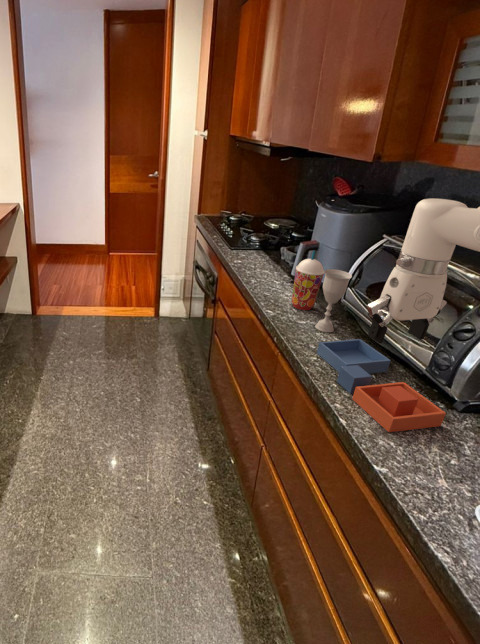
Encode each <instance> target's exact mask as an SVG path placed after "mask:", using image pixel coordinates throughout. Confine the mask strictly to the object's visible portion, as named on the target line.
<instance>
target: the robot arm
mask: <svg viewBox="0 0 480 644" xmlns="http://www.w3.org/2000/svg"><path fill="white" fill-rule="evenodd" d="M456 245H457V246H459V247H463V248H466V249H469V250H472V251H476V252H480V206H478V207H477V208H476V207H475V208H474V207H468V206H467V204H466V203H463V202H461V201H458V200H453V199H448V198H447V199H446V198H431V197H430V198H424V199H422V200H420V201H418V202H417V203H416V205H415V208H414V210H413V213H412V216H411V219H410V222H409V225H408V228H407V231H406V235H405V238H404V240H403V243H402V247H401V249H400V252H399V255H398V258H397V259H396V261H395V263H396V265H395V266H394V267H393V268H392V270H391V272H390V274H389V276H388V278H387V280H386V282H385V284H384V286H383V289H382V291H381V294H380V297H379V298H378V299H376V300H374V301H372V302H370V303H368V304H367V305H366V310H367V316H368V317H369V319H370V321H371V324H370V327H369V331H368V334H367V336H368V337H369V338H370V339H372V340H374V341H375V342H376V343H377V344H383V343H384V340H385V336H386V334H387V331H388V326H386V325H388V324H390V322H391V321H392V320H395V321H411V323H410V325H409V328H408V331H407V333H408V334H409V335H411V336H413V337H415V338H416V339H418V340H420V341H422V340H424V339H425V337H426V335H427V333H428V329H429V327H430V324H432V323H433V322H434V321H435V318H436V317H437V316H438V315H440V313H441V311H442V310H443V308H444V307H445V306H446V305H447V303H448V301H446V300H444V295H445V291H446V288H447V282H448V272H447V269H448V266H449V264H450V262H451V259H452V256H453V254H454V251H455V249H456ZM383 315H385V316H384V317H383V318H382V316H383Z"/></svg>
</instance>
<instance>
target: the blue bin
mask: <svg viewBox="0 0 480 644" xmlns="http://www.w3.org/2000/svg"><path fill="white" fill-rule="evenodd" d="M316 355H318V356H319V357H320V358H321V359H323V360H324V361H325V362H326V363H327V364H329V365H330V366H331V367H332V368H333V369H334V370H335V371H337V372H338V373H339V372H340V368H341V367H342V366H352V365H358V366H360V367H361V368H362V369H363V370H365V371H366V372H367V373H368V374H370V375H371V374H380V373H387V372H388V371H389V368H390V364H391V359H389V358H388V357H387V356H385V355H384V354H383V353H381V352H379V351H378V350H377V349H375V348H374V347H373V346H371V345H370V344H368V343H367V342H365V341H364V340H362V339H361V338H355V339H354V338H353V339H343V340H341V339H340V340H331V341H320V342H319V343H318V346H317V350H316Z"/></svg>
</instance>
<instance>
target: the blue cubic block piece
mask: <svg viewBox="0 0 480 644" xmlns="http://www.w3.org/2000/svg"><path fill="white" fill-rule="evenodd" d="M372 379H373V376H372V375H371V374H368V373H367V372H366V371H365V370H363V369H362V368H361V367H360V366H358V365H352V366H342V367H341V368H340V372H338V376H337V379H336V383H337V384H338V385H340V386H341V387H342V388H343V389H344V390H345V391H346V392H347V393H349V394H350V395H351V394H354V391H355V388H356V387H359V386H369V385H371V382H372Z"/></svg>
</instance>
